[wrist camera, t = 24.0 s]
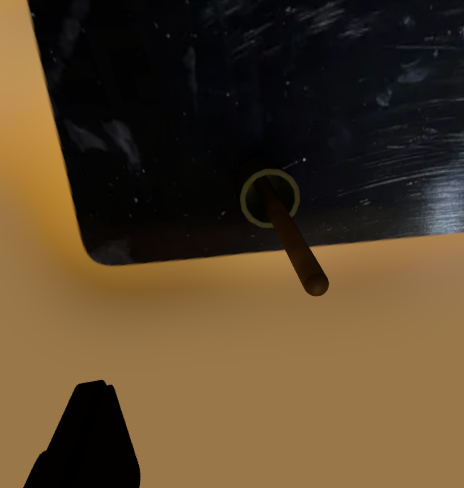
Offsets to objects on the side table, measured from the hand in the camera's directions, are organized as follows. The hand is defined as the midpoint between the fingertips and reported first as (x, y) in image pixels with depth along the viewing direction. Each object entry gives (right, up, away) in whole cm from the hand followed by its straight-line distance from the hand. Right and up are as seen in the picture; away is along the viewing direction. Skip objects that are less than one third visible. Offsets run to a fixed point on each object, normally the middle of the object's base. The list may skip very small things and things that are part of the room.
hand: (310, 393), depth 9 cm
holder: (+1, +9, +25) cm, 27 cm away
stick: (0, +10, +25) cm, 26 cm away
